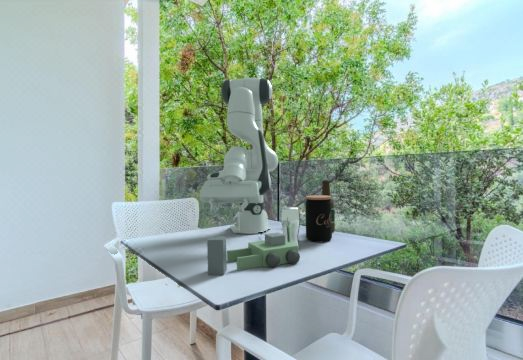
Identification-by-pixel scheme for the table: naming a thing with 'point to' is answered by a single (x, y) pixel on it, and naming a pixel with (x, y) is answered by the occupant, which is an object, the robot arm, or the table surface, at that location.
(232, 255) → the green toy forklift
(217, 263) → the tall gray column
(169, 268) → the table surface
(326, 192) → the beer bottle
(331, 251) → the table surface
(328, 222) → the coffee jar
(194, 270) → the table surface
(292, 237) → the beer glass
